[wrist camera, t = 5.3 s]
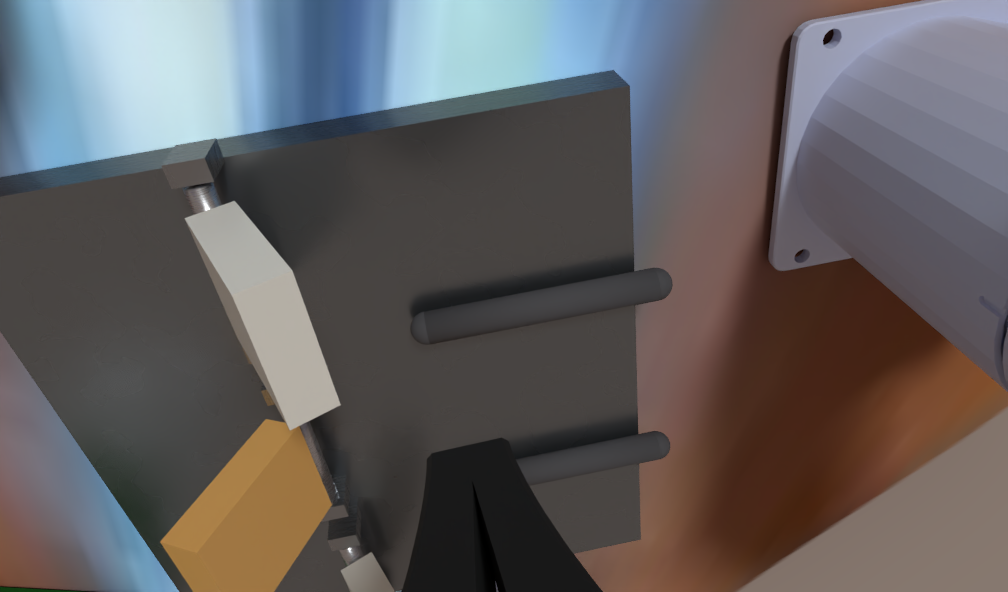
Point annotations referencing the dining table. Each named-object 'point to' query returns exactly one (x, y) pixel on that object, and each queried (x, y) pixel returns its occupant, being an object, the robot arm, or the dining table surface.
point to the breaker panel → (342, 309)
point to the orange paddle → (251, 516)
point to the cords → (545, 309)
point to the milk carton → (30, 590)
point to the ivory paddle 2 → (366, 576)
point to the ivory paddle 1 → (265, 312)
